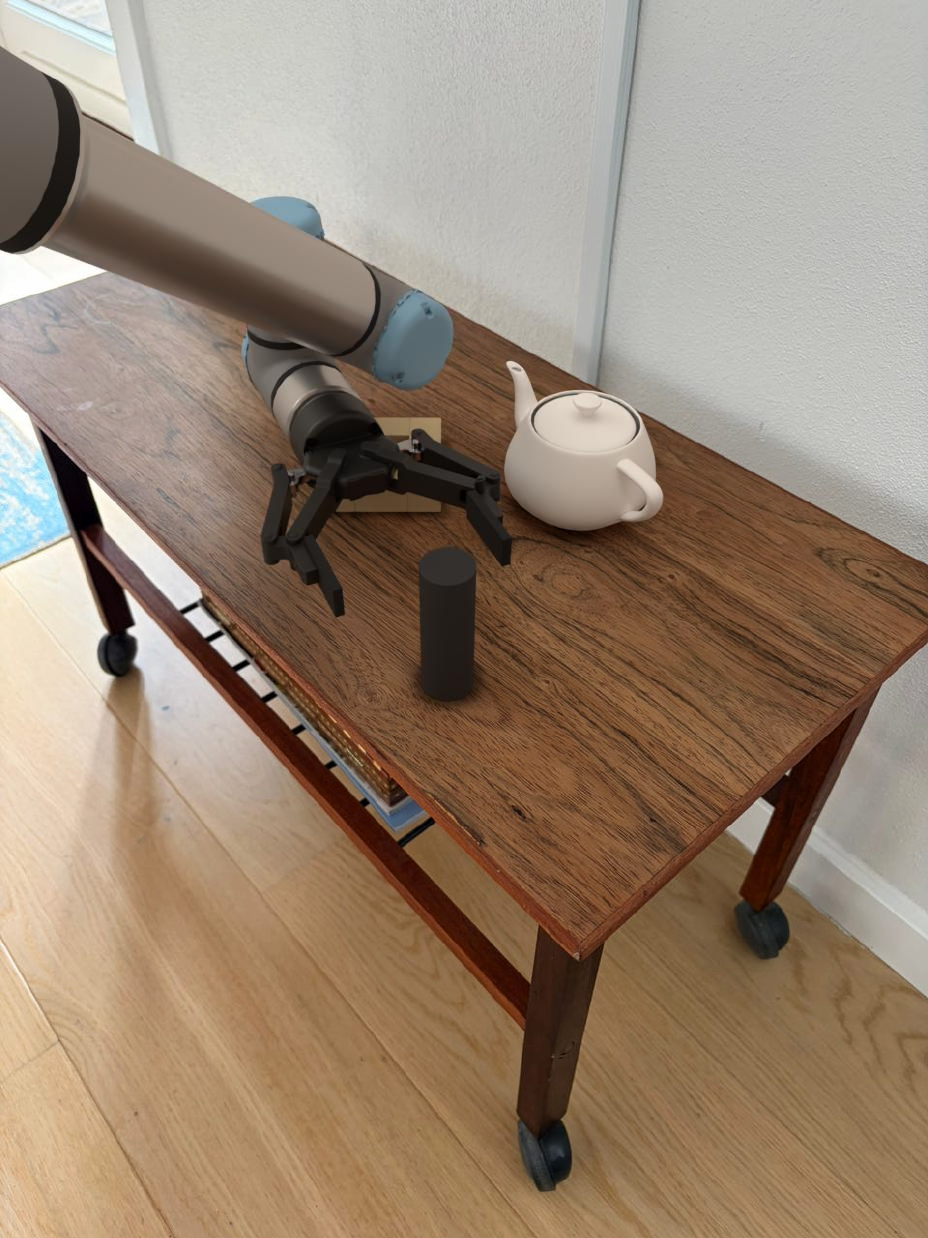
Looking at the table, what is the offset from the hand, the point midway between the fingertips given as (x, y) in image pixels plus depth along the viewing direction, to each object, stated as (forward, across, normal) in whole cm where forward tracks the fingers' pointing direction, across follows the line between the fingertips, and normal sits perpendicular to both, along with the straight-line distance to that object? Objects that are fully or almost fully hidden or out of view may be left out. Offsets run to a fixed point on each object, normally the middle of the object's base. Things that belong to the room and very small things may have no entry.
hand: (425, 577), depth 76 cm
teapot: (-12, -20, -8) cm, 25 cm away
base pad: (-22, -5, -7) cm, 24 cm away
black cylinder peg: (+4, 0, -7) cm, 8 cm away
